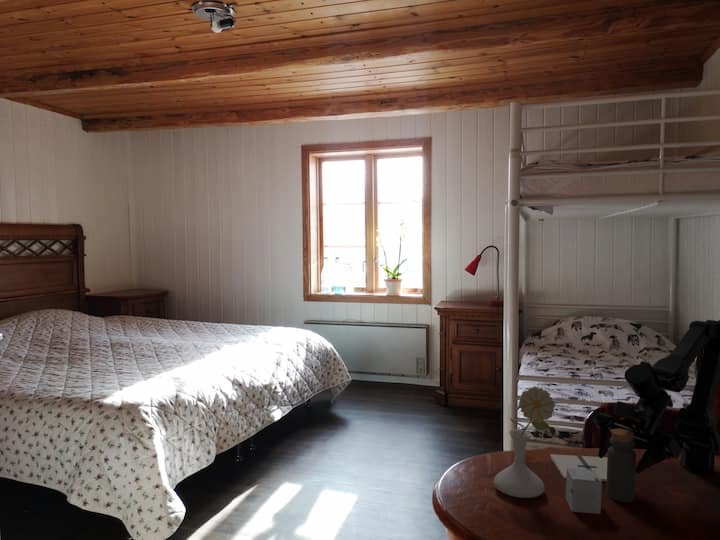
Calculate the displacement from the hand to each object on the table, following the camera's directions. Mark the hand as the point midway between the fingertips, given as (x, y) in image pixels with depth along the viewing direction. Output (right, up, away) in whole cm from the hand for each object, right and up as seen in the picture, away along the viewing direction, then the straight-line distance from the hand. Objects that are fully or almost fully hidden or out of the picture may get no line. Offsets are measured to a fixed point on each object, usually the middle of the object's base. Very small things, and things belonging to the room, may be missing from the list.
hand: (617, 464), depth 120 cm
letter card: (0, -7, +16) cm, 17 cm away
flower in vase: (-21, -8, +3) cm, 22 cm away
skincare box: (-10, -8, -4) cm, 13 cm away
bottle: (+1, -8, +1) cm, 8 cm away
